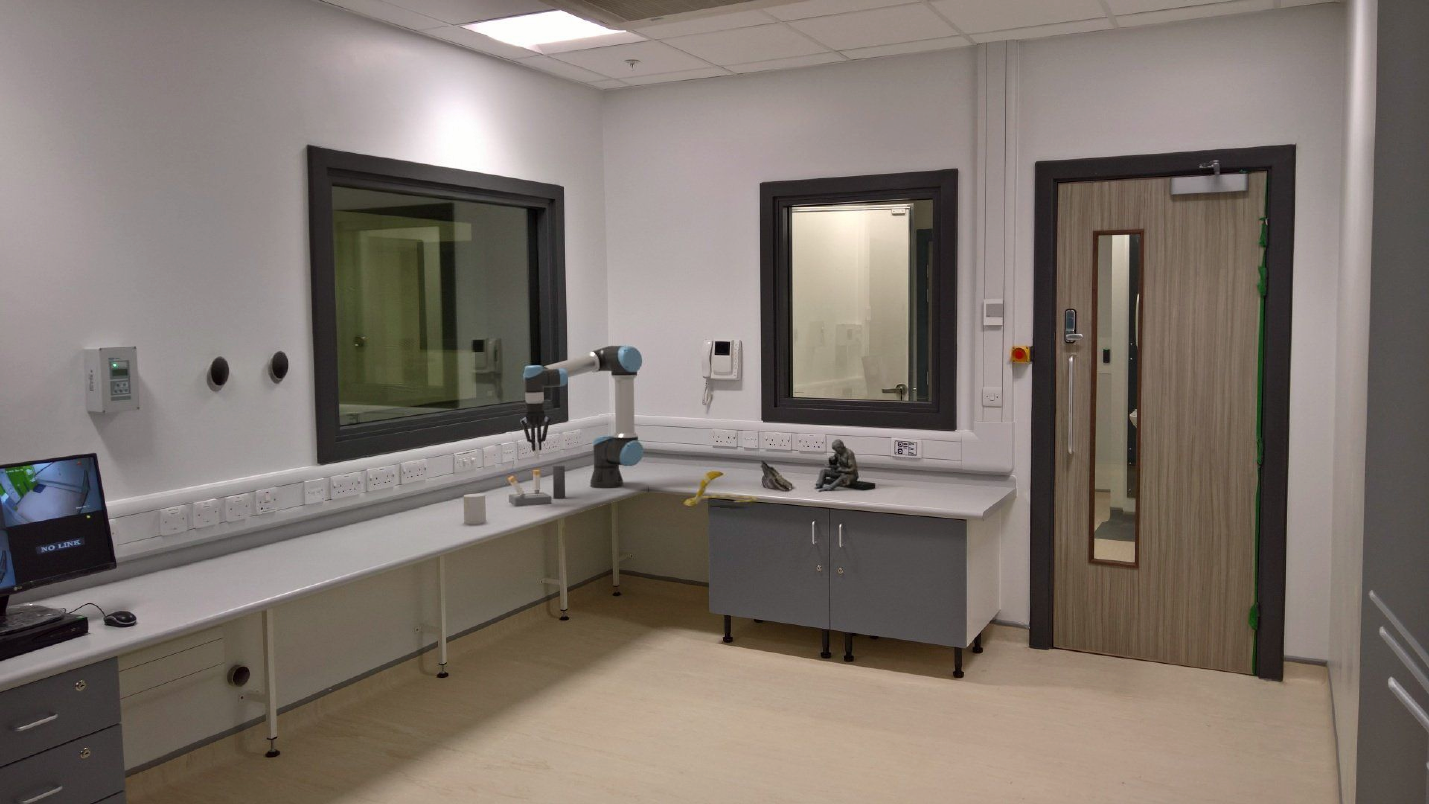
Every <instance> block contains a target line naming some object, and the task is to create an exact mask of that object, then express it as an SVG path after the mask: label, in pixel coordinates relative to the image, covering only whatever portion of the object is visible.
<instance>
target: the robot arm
mask: <svg viewBox="0 0 1429 804" xmlns="http://www.w3.org/2000/svg"><path fill="white" fill-rule="evenodd" d="M642 365H643V358H642V354H641V352H640V351H639V350H638V348H637V347H634V346H633V345H632V346H631V345H608V346H604V347H602V348H599V349H596V350H595V349H594V350H593V351H592V350H591V351H589V352H587V354H586V355H582V356H578V357H574V358H571V359H567V360H564V361H563V360H562V361H559V362H555V363H552V364H548V365H544V366H543V365H538V364H537V365H526V366H525V367H524V373H523V376H522V377H523V378H522V379H523V382H524V390H525V391H524V392H525V402H526V403H525V415H524V417H523V418H522V419H520V420H519V422H520V424H521V425H522V429H523V431H524V435H525V438H526V441H527V442H528V443H531V450H532V452H534V456H533V457H534V459H535V460H540V451H542V450H543V449H542V443H543V442H545V441H546V440H547V434H548V430H549V424H550V422H551V421H552V418H550V417H548V416H547V415H546V414H545V403H544V401H545V400H544V399H545V396H544V394H545V393H544V388H556V387H557V388H560V387H565V386H566V385H567V384H568V382H569V378H570V377H576V376H578V375H583V374H586V373H590V372H592V373H599V372H610V376H611V378H613V379H614V404H615V405H614V406H615V407H614V412H615V413H614V415H615V418H614V420H615V432H614V434H613V435H608V436H606V435H605V436H596V437H595V438H594V439H593V443H592V450H593V470H592V474H591V478H590V481H589V483H590V485H589V486H590V487H592V488H598V489H599V488H601V489H602V488H603V489H605V488H606V489H608V488H619V487H623V486H624V480H623V477H622V473H621V471H620V466H624V467H634V466H636V465H637V464H639V462H640V461H641V460H642V459H643V455H644V447H643V444H641V442H640V441H639V435H638V434H637V433H636V432H635V431H636V430H635V378H636V377H638V371H639V370H640V369H641V368H642ZM543 421H544V423H543ZM527 422H528V423H529V425H530V432H529V429H528V425H527ZM542 423H543V425H544V426H543V430H542ZM536 439H537V441H536ZM622 485H623V486H622Z"/></svg>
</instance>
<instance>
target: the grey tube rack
mask: <svg viewBox="0 0 1429 804" xmlns="http://www.w3.org/2000/svg"><path fill="white" fill-rule="evenodd" d="M524 494H525V497H524V498H523V497H521V496H520V495H519V494H518V493H515V494H514V493H513V494H508V502H509V503H511V505H513V506H515V507H520V506H521V507H522V506H534V505H535V506H536V505H538V506H539V505H547V504H550V505H551V504H552V496H551V495H549V494H547V493H546V492H544V491H543V492H539V493H535V492H530V493H524Z"/></svg>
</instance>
